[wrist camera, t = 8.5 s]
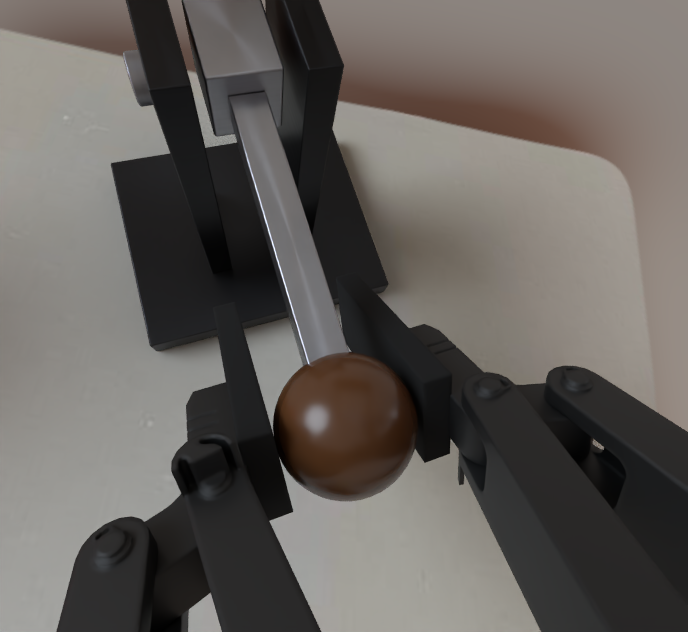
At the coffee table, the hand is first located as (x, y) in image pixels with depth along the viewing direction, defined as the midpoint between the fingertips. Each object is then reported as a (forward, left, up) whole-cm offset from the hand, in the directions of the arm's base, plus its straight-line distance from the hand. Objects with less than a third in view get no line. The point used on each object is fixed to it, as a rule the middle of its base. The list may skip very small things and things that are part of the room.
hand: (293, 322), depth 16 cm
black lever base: (0, -7, -7) cm, 10 cm away
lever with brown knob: (0, -1, +2) cm, 3 cm away
